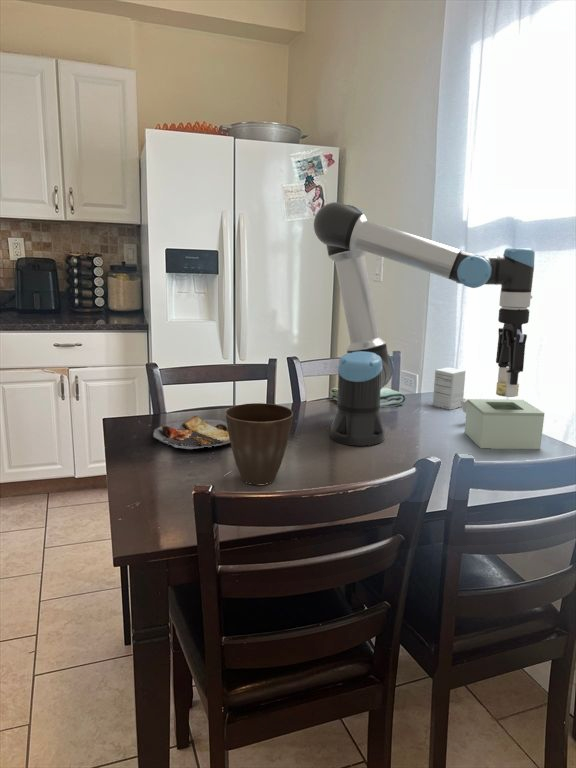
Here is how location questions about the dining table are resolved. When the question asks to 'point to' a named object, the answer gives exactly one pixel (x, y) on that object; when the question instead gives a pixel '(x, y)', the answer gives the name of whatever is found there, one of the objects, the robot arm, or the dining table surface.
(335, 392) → the towel
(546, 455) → the dining table surface
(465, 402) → the lighter
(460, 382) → the supplement box
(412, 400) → the dining table surface
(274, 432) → the plant pot
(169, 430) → the food plate
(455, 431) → the dining table surface
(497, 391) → the gold squat cylinder
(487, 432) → the box
